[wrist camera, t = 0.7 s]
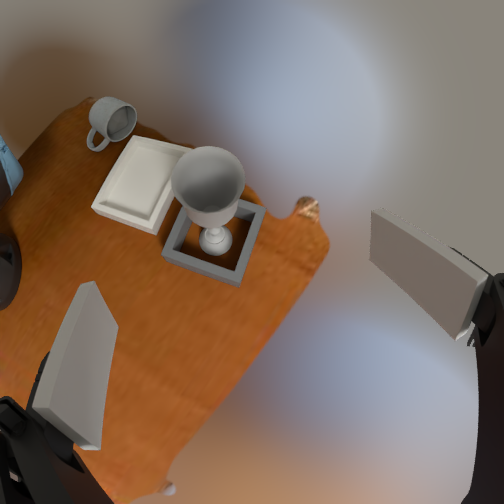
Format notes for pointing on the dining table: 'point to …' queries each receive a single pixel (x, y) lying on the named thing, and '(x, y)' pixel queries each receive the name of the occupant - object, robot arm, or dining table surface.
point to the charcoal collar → (202, 267)
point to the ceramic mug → (111, 121)
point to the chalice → (209, 193)
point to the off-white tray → (140, 184)
